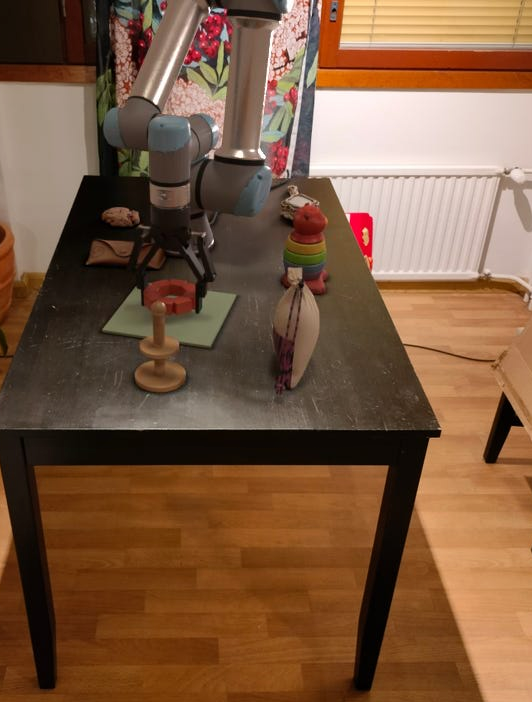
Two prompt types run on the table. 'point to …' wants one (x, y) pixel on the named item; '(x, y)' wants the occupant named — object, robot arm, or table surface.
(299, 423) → the table surface
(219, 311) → the mat
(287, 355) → the pouch
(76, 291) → the table surface
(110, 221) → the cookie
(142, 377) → the ring post
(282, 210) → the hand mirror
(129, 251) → the sunglasses case
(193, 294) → the ring
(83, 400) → the table surface
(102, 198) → the table surface
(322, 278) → the stacking bear
